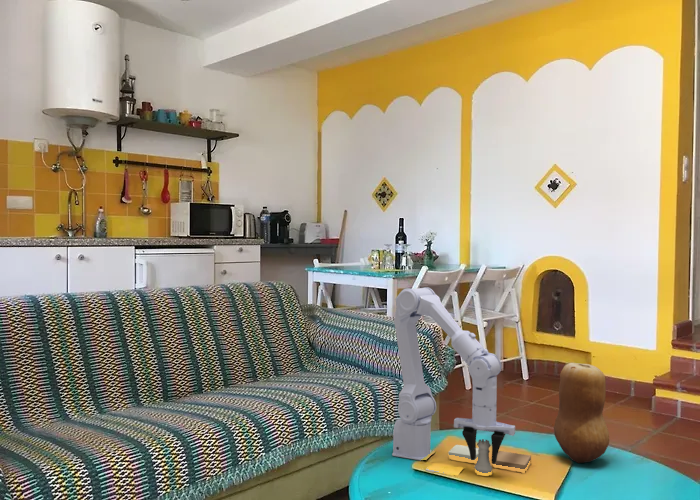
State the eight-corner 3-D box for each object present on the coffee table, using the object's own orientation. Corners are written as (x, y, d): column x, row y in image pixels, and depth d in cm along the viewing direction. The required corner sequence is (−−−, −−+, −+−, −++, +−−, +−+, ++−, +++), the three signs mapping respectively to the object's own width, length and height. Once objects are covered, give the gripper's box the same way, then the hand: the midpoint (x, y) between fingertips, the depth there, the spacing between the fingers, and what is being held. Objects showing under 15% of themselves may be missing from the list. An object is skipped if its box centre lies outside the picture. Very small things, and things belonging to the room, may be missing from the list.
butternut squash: (620, 466, 156) (621, 367, 156) (577, 471, 151) (579, 370, 151) (582, 449, 169) (583, 358, 169) (541, 454, 164) (543, 360, 164)
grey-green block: (448, 459, 158) (448, 452, 158) (455, 452, 165) (456, 444, 165) (475, 464, 155) (475, 456, 155) (481, 456, 162) (481, 448, 162)
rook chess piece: (493, 477, 146) (493, 444, 146) (474, 476, 147) (474, 442, 147) (492, 471, 151) (493, 438, 151) (474, 469, 151) (474, 437, 151)
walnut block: (492, 467, 153) (492, 459, 153) (499, 458, 160) (499, 450, 160) (525, 473, 149) (525, 465, 149) (530, 463, 157) (530, 455, 157)
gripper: (450, 404, 148) (449, 460, 148) (511, 412, 142) (510, 470, 142) (458, 398, 155) (458, 452, 155) (517, 405, 148) (516, 461, 148)
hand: (483, 460), depth 149 cm, fingers open, 4 cm apart
